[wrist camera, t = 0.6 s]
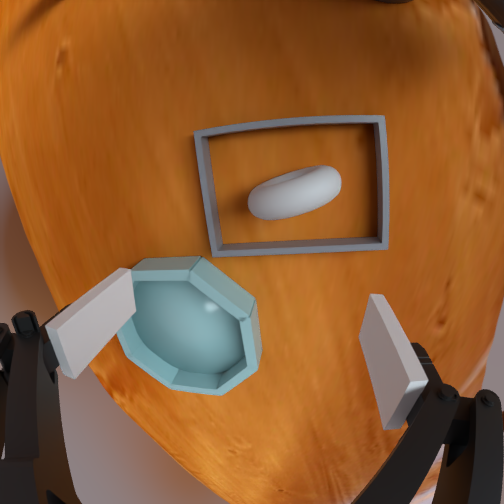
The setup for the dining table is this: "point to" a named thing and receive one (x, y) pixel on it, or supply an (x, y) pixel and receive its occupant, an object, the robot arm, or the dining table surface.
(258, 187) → the donut
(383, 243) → the grey rectangular frame
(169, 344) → the bowl
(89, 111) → the dining table surface
